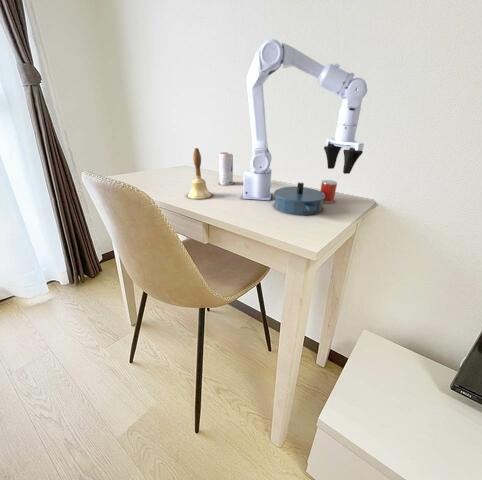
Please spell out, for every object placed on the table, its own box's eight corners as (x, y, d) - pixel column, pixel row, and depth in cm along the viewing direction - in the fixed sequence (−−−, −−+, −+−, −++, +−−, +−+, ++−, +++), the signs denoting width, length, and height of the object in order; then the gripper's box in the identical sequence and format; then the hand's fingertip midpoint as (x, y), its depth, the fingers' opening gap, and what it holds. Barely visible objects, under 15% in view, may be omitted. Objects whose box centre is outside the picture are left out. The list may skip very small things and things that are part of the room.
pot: (287, 220, 72) (289, 206, 70) (267, 198, 90) (268, 187, 88) (334, 217, 75) (337, 204, 73) (305, 196, 92) (307, 185, 90)
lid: (284, 206, 73) (285, 191, 71) (268, 190, 86) (269, 178, 84) (334, 203, 75) (337, 189, 73) (311, 188, 89) (312, 176, 87)
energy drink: (233, 182, 109) (233, 152, 103) (231, 185, 104) (231, 154, 98) (220, 181, 109) (220, 152, 104) (218, 185, 104) (218, 154, 99)
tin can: (319, 202, 87) (322, 183, 84) (318, 198, 91) (320, 179, 88) (334, 203, 86) (338, 184, 83) (332, 198, 90) (335, 180, 87)
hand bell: (183, 197, 89) (178, 149, 82) (195, 191, 96) (192, 146, 89) (204, 200, 87) (201, 150, 79) (215, 193, 93) (214, 147, 86)
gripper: (376, 126, 73) (364, 174, 79) (341, 123, 85) (333, 165, 91) (356, 126, 70) (346, 176, 77) (323, 123, 82) (317, 166, 89)
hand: (338, 170), depth 84 cm, fingers open, 7 cm apart
